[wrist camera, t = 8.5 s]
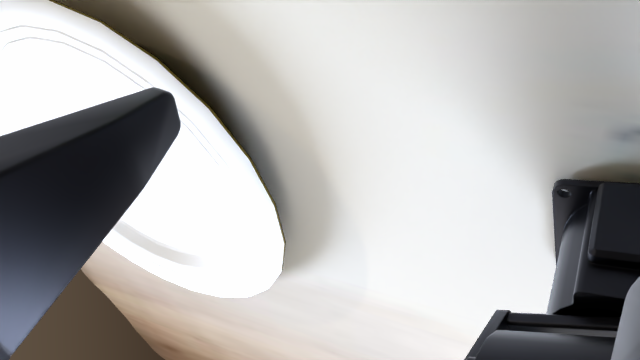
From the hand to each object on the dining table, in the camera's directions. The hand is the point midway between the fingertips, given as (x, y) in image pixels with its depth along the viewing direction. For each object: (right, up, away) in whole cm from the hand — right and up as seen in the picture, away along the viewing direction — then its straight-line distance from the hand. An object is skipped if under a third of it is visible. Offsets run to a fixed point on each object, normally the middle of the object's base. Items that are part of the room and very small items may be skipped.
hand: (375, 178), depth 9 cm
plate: (-16, +1, +31) cm, 35 cm away
